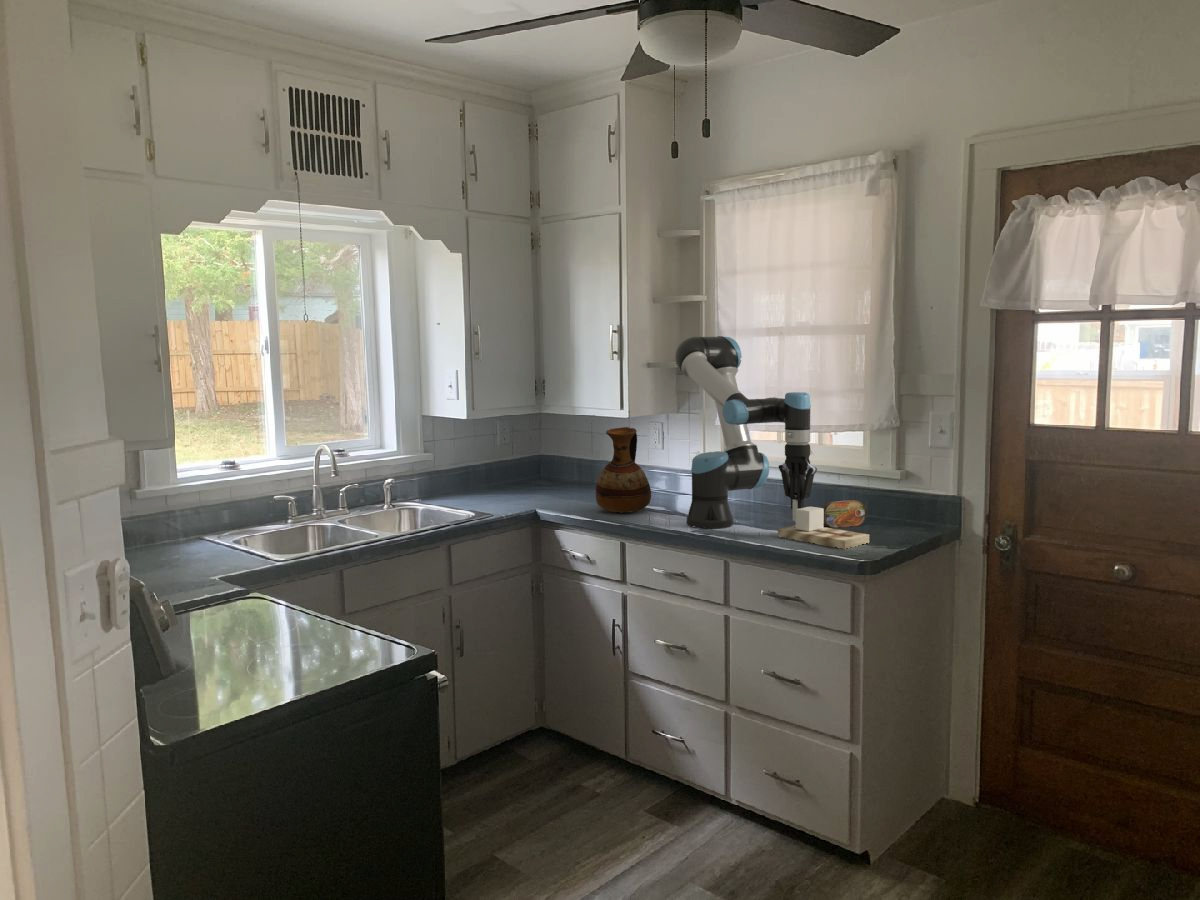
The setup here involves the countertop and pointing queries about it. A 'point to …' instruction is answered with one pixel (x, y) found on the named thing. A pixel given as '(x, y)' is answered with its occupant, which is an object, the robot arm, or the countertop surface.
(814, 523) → the fader tab
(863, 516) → the tin
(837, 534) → the beige flat block
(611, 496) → the ceramic pitcher
